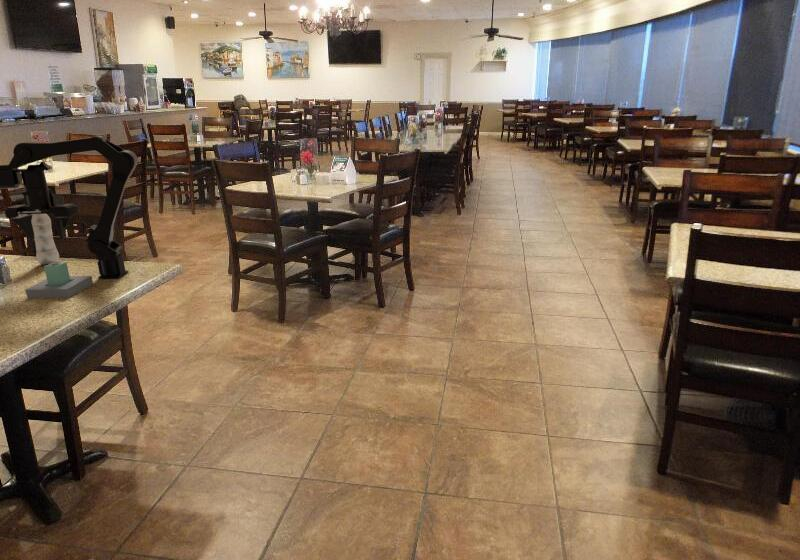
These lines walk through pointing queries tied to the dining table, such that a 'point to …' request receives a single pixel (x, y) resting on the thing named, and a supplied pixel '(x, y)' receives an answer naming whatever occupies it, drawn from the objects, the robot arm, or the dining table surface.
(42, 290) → the plate
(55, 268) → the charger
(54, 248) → the plastic bottle
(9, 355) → the dining table surface
